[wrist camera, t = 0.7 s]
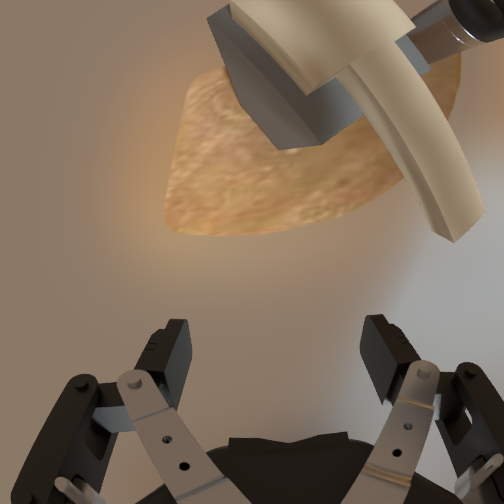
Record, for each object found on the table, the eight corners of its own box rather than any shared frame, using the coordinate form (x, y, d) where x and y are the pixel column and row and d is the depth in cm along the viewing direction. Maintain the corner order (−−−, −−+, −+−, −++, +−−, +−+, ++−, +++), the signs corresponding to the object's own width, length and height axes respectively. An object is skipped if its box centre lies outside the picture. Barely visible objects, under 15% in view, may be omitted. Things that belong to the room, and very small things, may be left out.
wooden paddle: (327, -30, 10) (336, -51, 8) (479, 186, 14) (504, 193, 12) (232, 18, 11) (228, -2, 9) (408, 249, 16) (428, 265, 13)
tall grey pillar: (284, 74, 40) (328, -44, 9) (321, 118, 42) (431, 69, 12) (240, 105, 42) (206, 18, 11) (278, 150, 44) (321, 145, 14)
